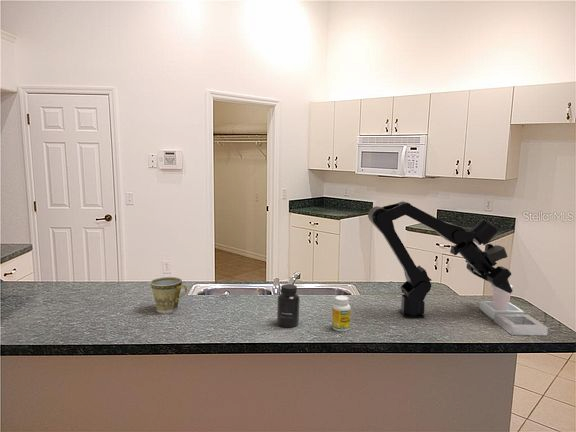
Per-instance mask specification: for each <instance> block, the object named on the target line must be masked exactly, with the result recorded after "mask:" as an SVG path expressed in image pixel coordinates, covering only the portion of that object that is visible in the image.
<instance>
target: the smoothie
mask: <svg viewBox="0 0 576 432" xmlns="http://www.w3.org/2000/svg"><path fill="white" fill-rule="evenodd" d="M510 286H511V288H512V291H513V290H514V286H513V285H512V284H510ZM491 288H492V301H493V307H494V310H499V311H507V308H508V304H509V302H510V299H511V295H512V293H508V292H506V291H504V290H502V289H500V288H497V287H495V286H493V285H492V284H491Z"/></svg>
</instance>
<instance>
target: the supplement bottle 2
mask: <svg viewBox="0 0 576 432" xmlns="http://www.w3.org/2000/svg"><path fill="white" fill-rule="evenodd" d="M349 300H350V299H349V297H348V296H346V295H337V296H335V297H334V302H335V303H333V305H332V325H331V326H332V329H333V330H334V331H337V332H348V331H349V330H351V329H350V328H351V313H352V312H351V305H350V304H349Z"/></svg>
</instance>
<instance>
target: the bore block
mask: <svg viewBox="0 0 576 432" xmlns="http://www.w3.org/2000/svg"><path fill="white" fill-rule="evenodd" d="M493 322H494V323H495V324H497V325H498V326H499V327H501V328H502V329H503V330H504V331H505V332H507V333H508V334H509V335H511V336H547V335H548V329H549V328H548V326H546V325H545V324H543V323H542V322H540V321H538V320H537V319H536V318H533V317H532V316H531V315H529V314H527V313H526V314H525V313H524V314H495V316H494V320H493Z"/></svg>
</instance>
